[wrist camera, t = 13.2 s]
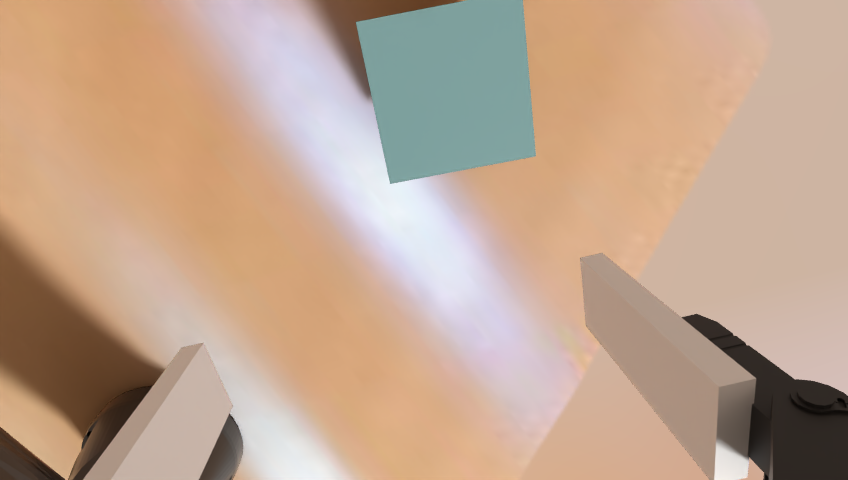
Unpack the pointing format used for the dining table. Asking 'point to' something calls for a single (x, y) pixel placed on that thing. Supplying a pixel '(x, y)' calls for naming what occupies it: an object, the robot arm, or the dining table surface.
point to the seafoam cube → (450, 87)
